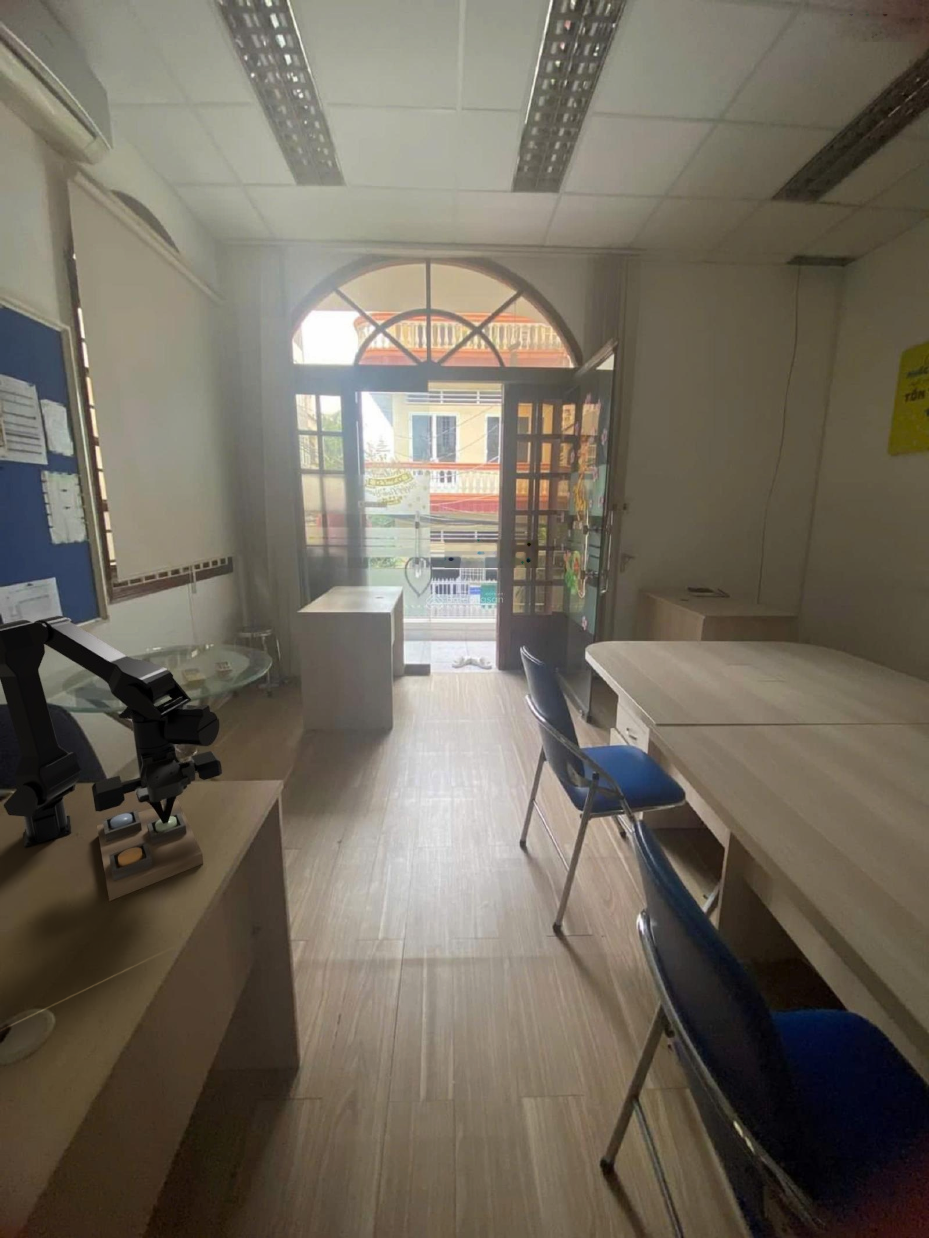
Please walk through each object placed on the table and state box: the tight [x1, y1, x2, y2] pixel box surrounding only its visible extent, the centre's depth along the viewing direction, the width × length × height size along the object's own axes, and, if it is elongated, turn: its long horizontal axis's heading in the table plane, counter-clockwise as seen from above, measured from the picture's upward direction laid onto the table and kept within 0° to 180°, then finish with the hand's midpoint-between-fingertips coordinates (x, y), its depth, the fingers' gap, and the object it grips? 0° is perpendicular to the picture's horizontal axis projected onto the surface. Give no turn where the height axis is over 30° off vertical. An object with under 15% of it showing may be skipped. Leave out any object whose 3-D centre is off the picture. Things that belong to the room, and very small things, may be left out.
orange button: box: [118, 847, 143, 868], centre depth 79 cm, size 3×3×2 cm
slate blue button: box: [110, 812, 133, 830], centre depth 88 cm, size 3×3×2 cm
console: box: [96, 799, 204, 902], centre depth 85 cm, size 20×13×4 cm, turn 40°
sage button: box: [155, 816, 177, 833], centre depth 87 cm, size 3×3×2 cm
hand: (165, 821), depth 87 cm, fingers closed, pressing on sage button
